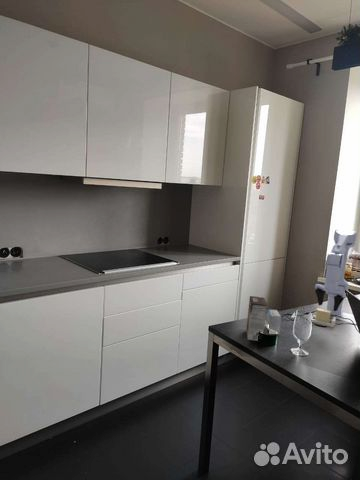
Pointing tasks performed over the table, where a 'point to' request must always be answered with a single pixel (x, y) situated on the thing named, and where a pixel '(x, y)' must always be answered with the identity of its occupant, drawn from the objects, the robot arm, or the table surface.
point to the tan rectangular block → (323, 315)
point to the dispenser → (324, 322)
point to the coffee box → (256, 317)
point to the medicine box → (274, 320)
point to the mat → (294, 315)
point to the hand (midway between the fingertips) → (327, 307)
